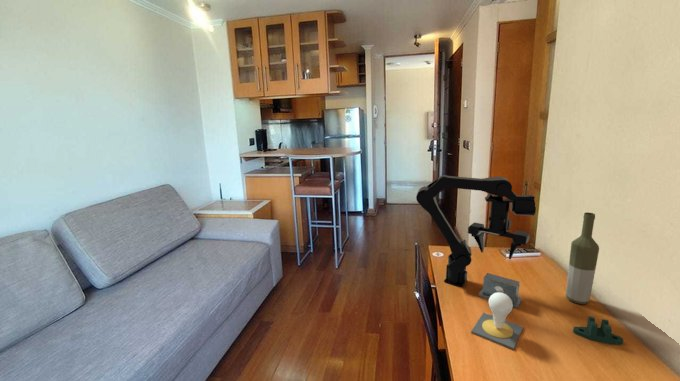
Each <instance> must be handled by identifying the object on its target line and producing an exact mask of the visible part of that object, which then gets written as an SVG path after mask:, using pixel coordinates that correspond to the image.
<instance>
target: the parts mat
mask: <svg viewBox="0 0 680 381" xmlns="http://www.w3.org/2000/svg"><path fill="white" fill-rule="evenodd" d="M523 330H524V326H522V325H519V324H516V323H513V322H511V321H509V320H506V319H505V322H504V326H503V328H501V329H498V328H496V327H495V326H494V319H493V314H492V315H490V314H488V313H486V312H482V314H481V316H480V318H479V319H478V320H477V322H476V323H475V324H474V326H473V328H472V329H471V331H470V333H471V334H473V335H476V336H478V337H480V338H482V339H485V340H488V341H490V342H493V343H495V344H498V345H500V346H503V347H504V348H505V347H506V348H508V349H510V350H513V351H514V350H515V348H516V346H517V342H518V341H519V338H520V336H521V335H522V332H523Z"/></svg>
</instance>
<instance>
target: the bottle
mask: <svg viewBox="0 0 680 381" xmlns="http://www.w3.org/2000/svg"><path fill="white" fill-rule="evenodd" d="M595 219H596V213H593V212H589V211H588V212H584V213H583V221H582V228H581V235H580V236H579V237H577V238H576V239H574V240H573V241H571V245H570V251H569V252H570V253H569V262H568V269H567V270H568V271H567V280H566V288H565V296H566V298H567V300H568V301H570V302H573V303H575V304H578V305H579V304H580V305H586V304H588V303H589V302H590V300H591V296H592V290H593V285H594V279H595V274H596V269H597V264H598V263H597V262H598V257H599V252H600V246H599V244H598V243H597V242H596V240H595V239H594V238H593V231H594V230H593V229H594V224H595Z"/></svg>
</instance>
